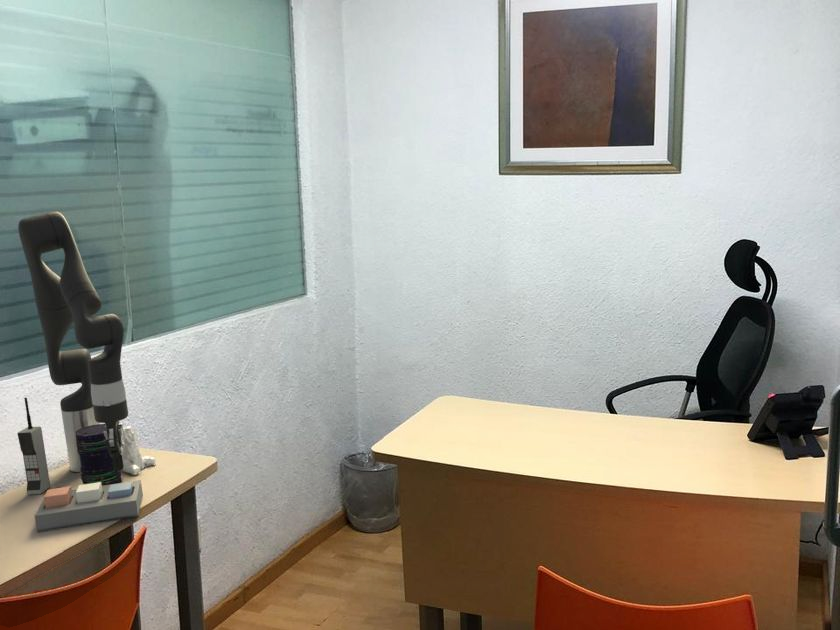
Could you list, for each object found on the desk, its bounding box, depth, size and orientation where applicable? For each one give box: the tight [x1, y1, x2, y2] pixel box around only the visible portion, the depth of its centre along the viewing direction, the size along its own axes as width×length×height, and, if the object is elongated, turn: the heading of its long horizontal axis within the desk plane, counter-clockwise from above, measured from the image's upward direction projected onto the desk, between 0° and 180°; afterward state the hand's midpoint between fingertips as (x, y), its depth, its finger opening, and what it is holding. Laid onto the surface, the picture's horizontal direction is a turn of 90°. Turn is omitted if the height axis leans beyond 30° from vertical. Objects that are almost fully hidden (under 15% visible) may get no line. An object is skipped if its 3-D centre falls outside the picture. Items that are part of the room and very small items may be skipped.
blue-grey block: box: [108, 481, 133, 498], centre depth 202 cm, size 5×5×4 cm
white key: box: [76, 482, 103, 503], centre depth 200 cm, size 5×5×4 cm
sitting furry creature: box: [121, 426, 156, 476], centre depth 229 cm, size 10×9×12 cm
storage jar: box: [75, 423, 123, 486], centre depth 219 cm, size 10×10×15 cm
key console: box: [34, 479, 144, 533], centre depth 200 cm, size 14×22×4 cm, turn 104°
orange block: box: [43, 486, 72, 508], centre depth 198 cm, size 5×5×4 cm
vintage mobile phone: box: [17, 397, 51, 495], centre depth 216 cm, size 4×5×25 cm
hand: (119, 469), depth 201 cm, fingers closed
